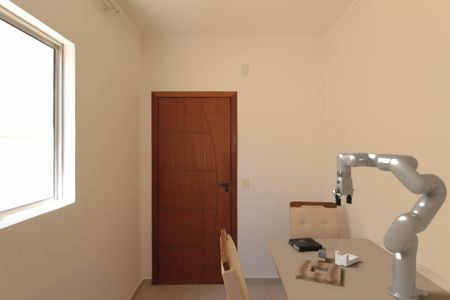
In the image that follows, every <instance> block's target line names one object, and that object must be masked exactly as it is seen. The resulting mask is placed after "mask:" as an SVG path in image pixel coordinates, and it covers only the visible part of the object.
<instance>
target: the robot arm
mask: <svg viewBox="0 0 450 300" xmlns="http://www.w3.org/2000/svg"><path fill="white" fill-rule="evenodd" d="M359 167H367V168H368V167H369V168H377V169H378V170H379V171H384V172H390V173H391V174H392V175H393V176H394V177H395V178H396V179H397V180H398V181H399V182H400V183H401V184H402V185H403V186H404V187H405V189H407V190H408V191H409V192H411V193H412V194H415V195H420V197H419V198H418V199H417V201H416V202H415V204H414V205H413V207H412V208H411V209H410V210H409V211H407V212H404V213H401V214H399V215H397V217H395V218H394V220H393V222H392V223H391V225H390V226H389V227H388V229H387V231H386V233H385V234H384V236H383V246H384V247H385V249H386V250H387V251H388V252H390V253H392V259H391V260H392V265H391V266H392V269H391V271H392V272H391V275H392V276H391V280H392V281H391V286H389V287H388V290H387V291H388V294H389V295H391V296H392V297H394V298H395V299H397V300H420V296H423V297H429V296H428V295H429V293H428V291H426V290H425V291H424V289H423V288H418V287H417V284H416V283H417V281H416V280H417V255H418V247H419V238H418V235H417V234H420V233H423V232H424V231H425V230H426V229H427V228H428V227H429V225H430V223H432V221H433V220H434V218H435V217H436V215H437V214H438V212H439V211H440V209H441V208H442V206H443V205H444V203H445V202H446V200H447V195H448V193H447V192H448V190H447V189H448V188H447V185H446V184H445V182H444V181H443V179H442V178H441V177H440V176H438V175H436V174H433V173H420V172H419V171H417V169H418V168H419V162H418V160H417V158H416V157H414V156H412V155H408V154H406V155H405V154H393V153H391V154H390V153H372V152H371V153H370V152H368V153H367V152H354V153H349V152H339V153H337V156H336V180H335V189H334V190H333V191H332V194H333V197H334V199H335V206H337V207H341V206H342V199H341V198H342V196H345V200H346V201H345V202H346V204H347V205H352V204H353V203H352V202H353V199H352V198H353V194H354V191H355V189H354V186H353V184H354V183H353V177H352V168H359Z"/></svg>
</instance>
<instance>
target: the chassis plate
mask: <svg viewBox="0 0 450 300" xmlns="http://www.w3.org/2000/svg"><path fill="white" fill-rule="evenodd" d="M312 270H317V271H322V272H326V273H322V272H317V271H312ZM341 275H342V265H338V264H335V263H329V262H325V263H324V262H318V260H317V261H316V260H309V259H304V258H302V259H301V261H300V264H299V266H298V269H297V271H296V273H295V279H300V280H305V281H310V282H315V283H321V284H326V285H332V286H337V287H341V278H342V277H341Z"/></svg>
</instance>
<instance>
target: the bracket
mask: <svg viewBox="0 0 450 300" xmlns="http://www.w3.org/2000/svg"><path fill="white" fill-rule="evenodd" d="M334 255H335V256H334V257H335V259H334V260H335V261H334V264H336V265H341V266H344V267H349V266H351V265H353V264H356V263H358V262H359V259H360V258H359V256H356V255H354V254H350V253H346V254H343V255H341V253H340V250H336V251H335V252H334Z"/></svg>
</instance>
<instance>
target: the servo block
mask: <svg viewBox="0 0 450 300" xmlns="http://www.w3.org/2000/svg"><path fill="white" fill-rule="evenodd" d="M317 254H318V255H317V262H324V263H327V262H326V260H327V250H326V249H322V250H320V249H319V251H317Z"/></svg>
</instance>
